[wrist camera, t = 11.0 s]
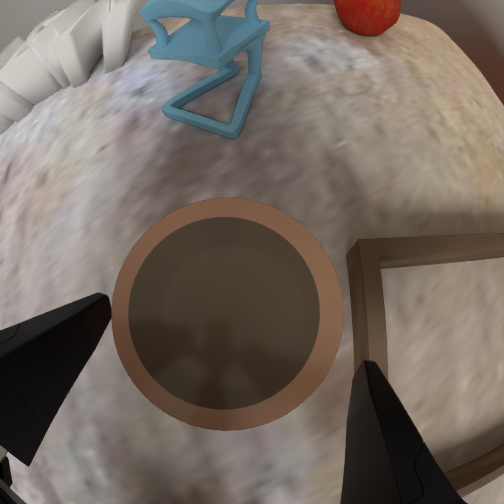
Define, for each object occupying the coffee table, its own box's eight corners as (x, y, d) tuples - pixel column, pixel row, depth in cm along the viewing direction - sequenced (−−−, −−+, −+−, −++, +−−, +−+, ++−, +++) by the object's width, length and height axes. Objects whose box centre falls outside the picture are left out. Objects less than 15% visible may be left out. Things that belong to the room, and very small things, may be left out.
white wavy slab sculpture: (168, 17, 30) (151, -35, 20) (153, 72, 25) (120, -2, 15) (10, 94, 32) (-16, 63, 22) (-23, 160, 27) (-60, 129, 17)
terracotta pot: (325, 339, 16) (389, 341, 6) (237, 395, 15) (183, 464, 6) (267, 256, 18) (254, 160, 8) (183, 310, 17) (83, 274, 8)
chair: (284, 82, 22) (281, -35, 11) (234, 141, 20) (202, -1, 9) (216, 65, 24) (192, -35, 13) (162, 116, 22) (111, 6, 11)
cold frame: (526, 437, 10) (545, 442, 8) (346, 510, 12) (355, 533, 9) (523, 243, 16) (544, 231, 13) (346, 255, 17) (358, 239, 14)
